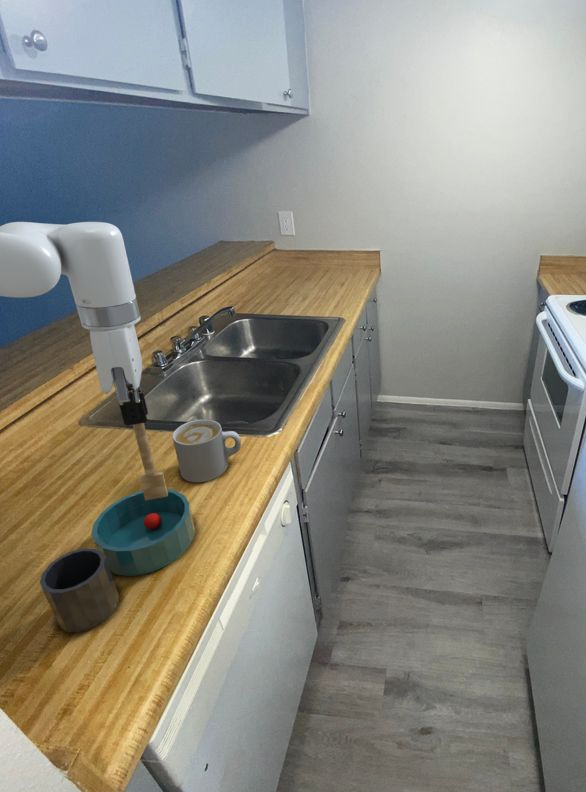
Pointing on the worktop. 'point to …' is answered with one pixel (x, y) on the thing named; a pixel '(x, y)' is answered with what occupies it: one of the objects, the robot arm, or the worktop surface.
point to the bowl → (143, 533)
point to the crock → (80, 589)
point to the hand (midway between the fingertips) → (136, 418)
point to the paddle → (149, 467)
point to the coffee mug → (203, 449)
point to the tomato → (152, 521)
